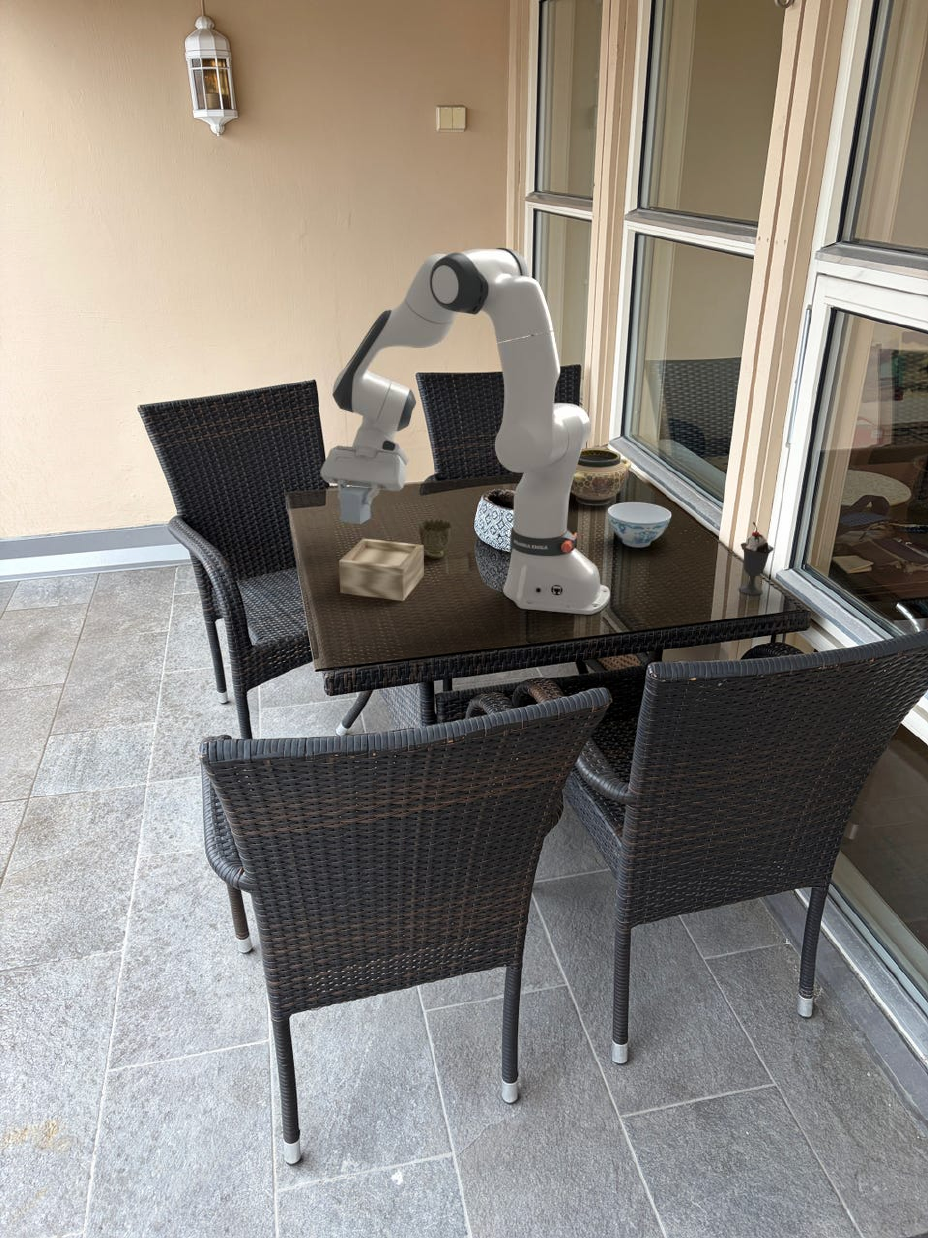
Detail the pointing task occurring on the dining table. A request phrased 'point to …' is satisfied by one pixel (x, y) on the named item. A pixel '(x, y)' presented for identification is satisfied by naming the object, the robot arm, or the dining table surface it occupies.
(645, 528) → the chinaware
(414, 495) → the dining table surface
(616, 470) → the ceramic bowl
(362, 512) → the slate block
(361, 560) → the maple box
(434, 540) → the cup
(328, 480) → the robot arm
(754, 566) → the sundae
